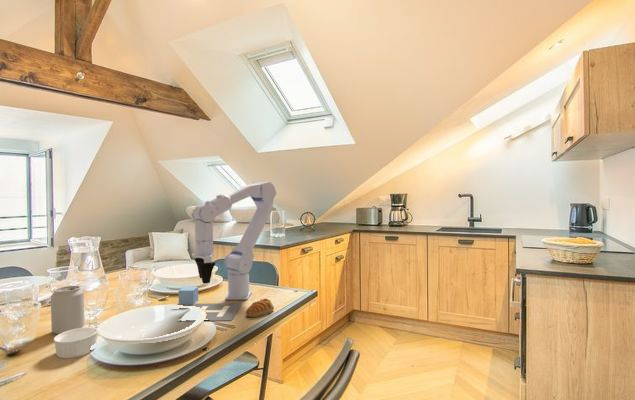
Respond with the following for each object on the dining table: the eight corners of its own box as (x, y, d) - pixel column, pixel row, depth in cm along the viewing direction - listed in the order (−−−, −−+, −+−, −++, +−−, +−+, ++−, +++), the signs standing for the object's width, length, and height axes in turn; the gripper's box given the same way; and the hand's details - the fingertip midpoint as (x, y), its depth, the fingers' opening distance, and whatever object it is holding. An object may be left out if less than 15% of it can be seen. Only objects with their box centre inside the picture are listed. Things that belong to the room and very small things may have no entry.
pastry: (257, 320, 106) (257, 307, 106) (240, 317, 109) (239, 304, 109) (275, 310, 114) (275, 299, 114) (258, 308, 117) (258, 296, 117)
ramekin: (64, 363, 80) (64, 344, 80) (47, 354, 84) (46, 336, 84) (105, 348, 87) (105, 331, 87) (87, 341, 92) (86, 324, 92)
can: (90, 327, 101) (89, 285, 101) (64, 337, 94) (63, 292, 94) (72, 324, 104) (70, 283, 103) (45, 334, 96) (43, 290, 96)
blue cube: (184, 300, 125) (183, 286, 125) (198, 300, 125) (198, 286, 125) (178, 305, 120) (178, 290, 120) (193, 305, 120) (193, 290, 120)
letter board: (195, 304, 121) (195, 303, 121) (242, 303, 121) (242, 303, 121) (177, 321, 105) (177, 320, 105) (231, 320, 105) (231, 320, 105)
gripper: (189, 238, 124) (190, 277, 124) (194, 243, 111) (194, 287, 111) (210, 237, 127) (210, 275, 127) (217, 242, 114) (217, 284, 114)
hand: (204, 280), depth 120 cm, fingers open, 7 cm apart
